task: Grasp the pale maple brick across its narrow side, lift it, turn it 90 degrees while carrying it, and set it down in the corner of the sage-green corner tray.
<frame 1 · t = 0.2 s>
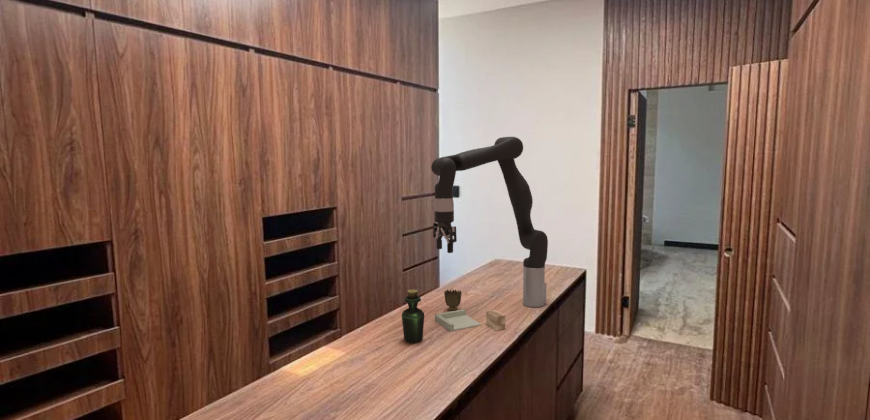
hand: (444, 250, 178), 29 cm above the worktop, fingers open, 8 cm apart
maple brick: (495, 327, 175), on the worktop
corner tray: (456, 322, 180), on the worktop
cup: (452, 310, 195), on the worktop
potion bottle: (413, 340, 163), on the worktop
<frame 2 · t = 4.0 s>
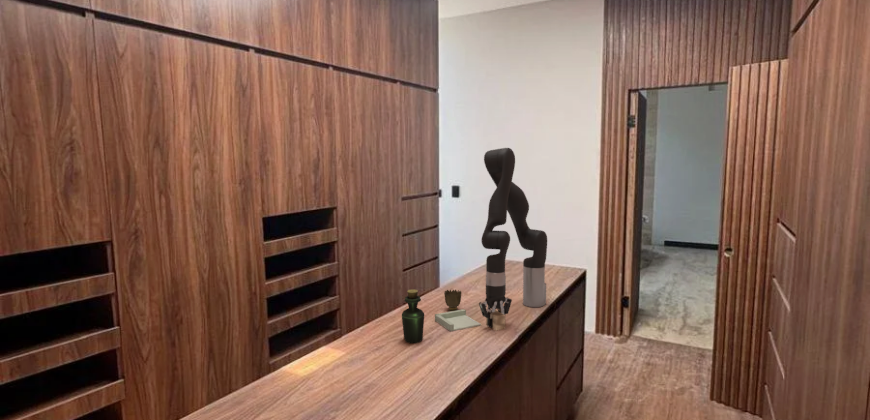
hand: (495, 326, 175), 0 cm above the worktop, fingers closed on maple brick, 4 cm apart
maple brick: (495, 326, 175), on the worktop, touching gripper
everything else where it was.
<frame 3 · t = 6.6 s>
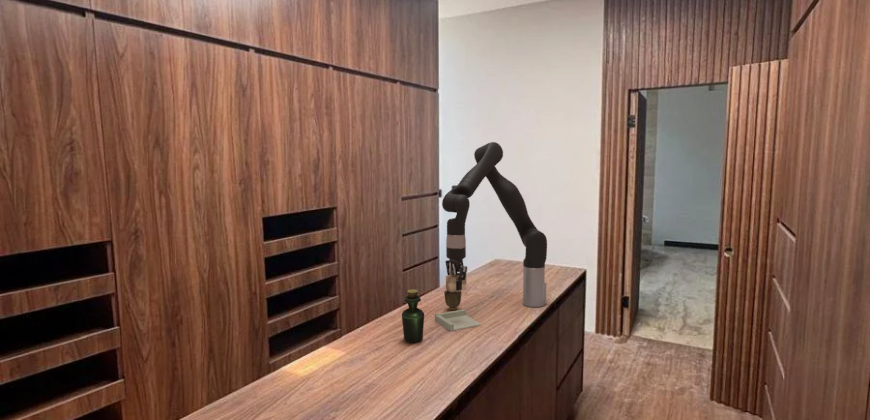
hand: (456, 288, 179), 14 cm above the worktop, fingers closed on maple brick, 4 cm apart
maple brick: (456, 289, 179), point 13 cm above the worktop, touching gripper
everything else where it was.
when the fingers open (3 cm above the worktop, at t = 9.2 s): maple brick drops 2 cm, resting on corner tray.
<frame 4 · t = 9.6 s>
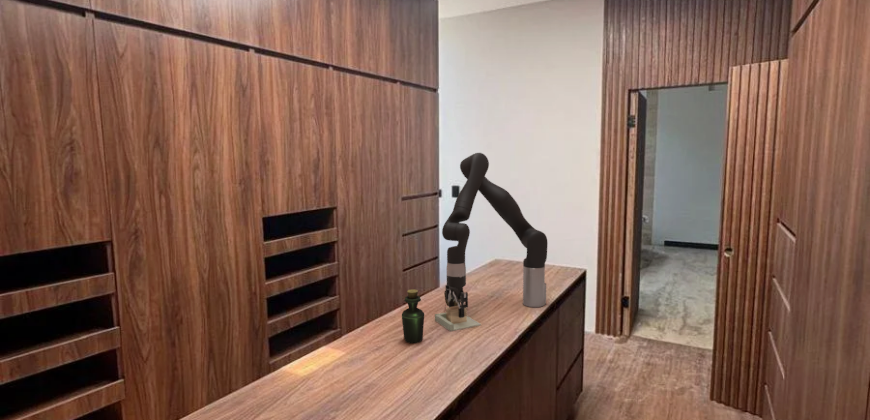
hand: (456, 314, 180), 3 cm above the worktop, fingers open, 7 cm apart
maple brick: (456, 321, 180), resting on corner tray
everything else where it was.
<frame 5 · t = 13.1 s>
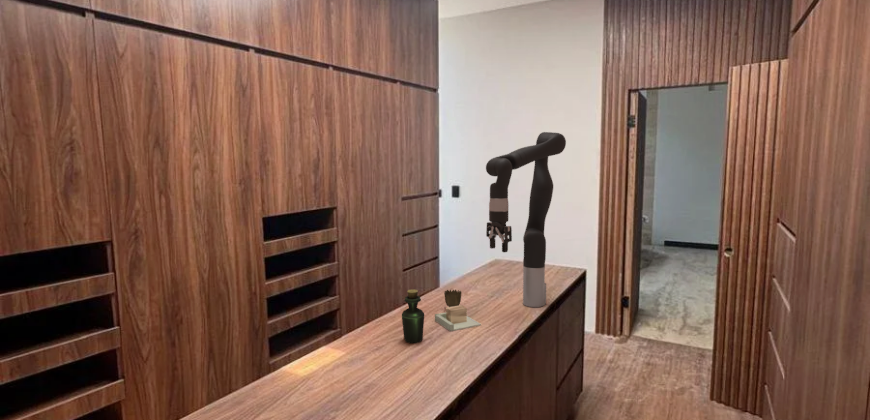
hand: (498, 250, 181), 28 cm above the worktop, fingers open, 8 cm apart
nothing on the worktop moved.
at the end: maple brick inside the target area on the corner tray (0.5 cm from its centre), point 0.5 cm above the corner tray's base; maple brick tilted 0°; the gripper is holding nothing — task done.
